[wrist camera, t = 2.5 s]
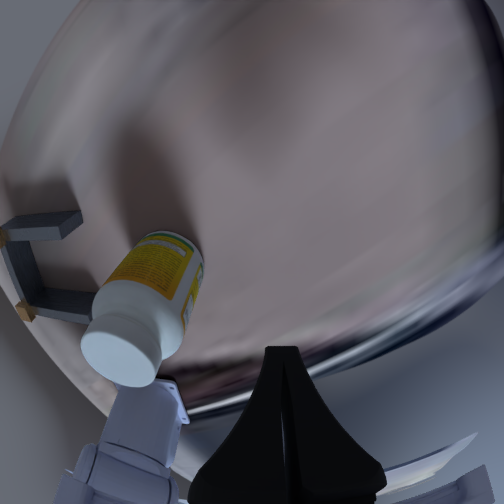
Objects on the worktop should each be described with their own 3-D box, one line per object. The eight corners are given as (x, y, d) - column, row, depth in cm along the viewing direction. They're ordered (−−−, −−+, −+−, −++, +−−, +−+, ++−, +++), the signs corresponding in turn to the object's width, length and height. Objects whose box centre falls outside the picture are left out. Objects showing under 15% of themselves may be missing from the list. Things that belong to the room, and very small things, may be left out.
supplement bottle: (218, 280, 20) (192, 391, 12) (159, 300, 22) (115, 398, 13) (182, 215, 18) (120, 308, 10) (122, 244, 19) (51, 331, 11)
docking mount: (107, 305, 22) (88, 334, 19) (41, 297, 22) (21, 319, 19) (80, 206, 18) (50, 227, 15) (13, 213, 18) (-14, 231, 15)
